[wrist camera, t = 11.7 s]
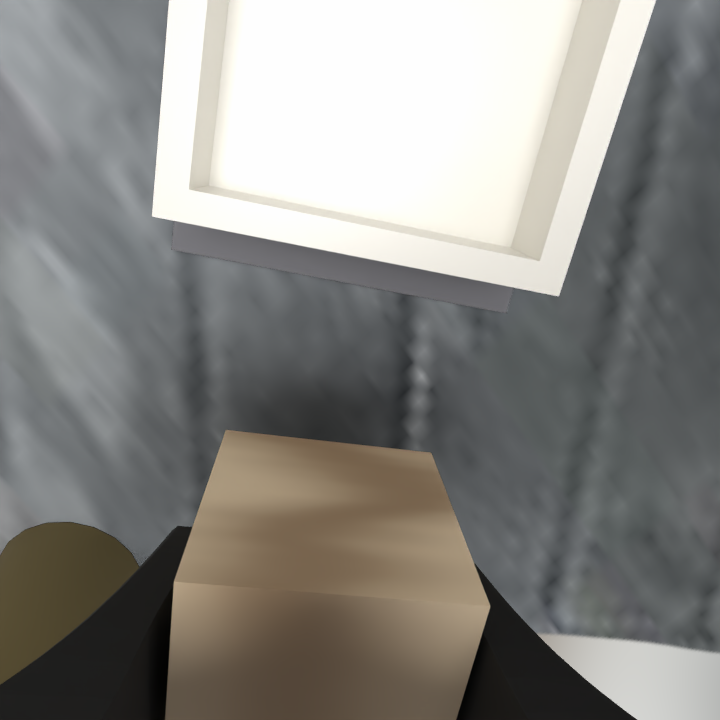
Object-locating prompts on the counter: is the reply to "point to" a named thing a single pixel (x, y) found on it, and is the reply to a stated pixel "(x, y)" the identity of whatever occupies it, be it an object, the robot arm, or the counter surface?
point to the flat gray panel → (339, 267)
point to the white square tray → (397, 126)
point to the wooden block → (323, 588)
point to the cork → (54, 587)
